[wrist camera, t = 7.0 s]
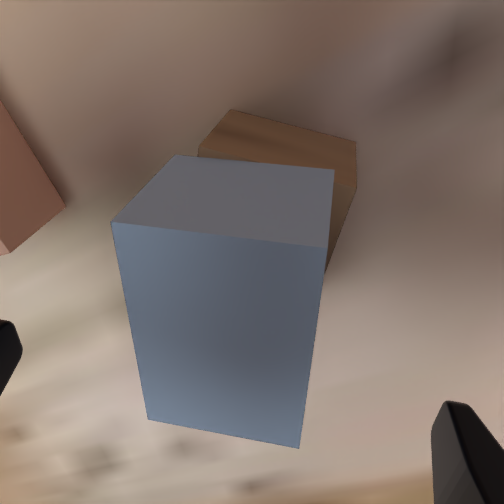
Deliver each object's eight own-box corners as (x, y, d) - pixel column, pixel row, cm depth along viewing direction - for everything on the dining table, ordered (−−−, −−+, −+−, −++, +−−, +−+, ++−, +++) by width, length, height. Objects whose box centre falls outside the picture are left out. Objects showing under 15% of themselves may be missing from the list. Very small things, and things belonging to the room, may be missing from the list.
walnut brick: (305, 286, 17) (295, 352, 14) (206, 258, 17) (176, 317, 14) (355, 140, 13) (356, 187, 10) (231, 108, 13) (198, 146, 10)
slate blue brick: (310, 347, 14) (299, 448, 11) (189, 328, 14) (147, 419, 11) (334, 169, 10) (327, 248, 7) (174, 154, 11) (110, 221, 8)
